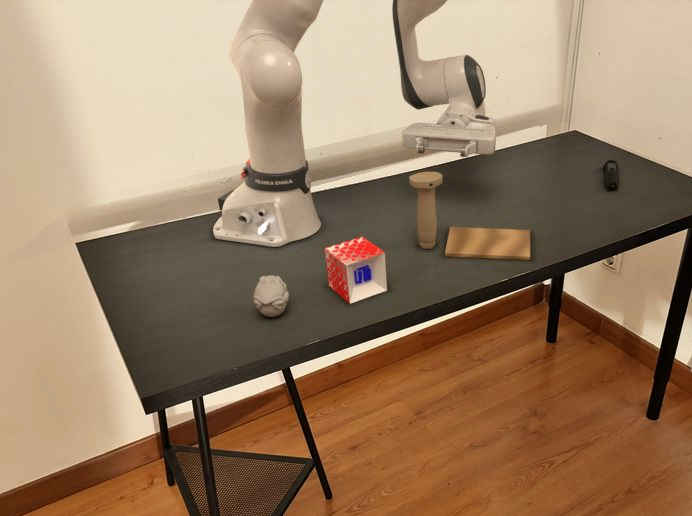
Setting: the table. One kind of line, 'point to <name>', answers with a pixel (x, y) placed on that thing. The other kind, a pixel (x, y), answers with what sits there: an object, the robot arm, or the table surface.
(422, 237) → the handle
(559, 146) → the table surface
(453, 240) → the oak board
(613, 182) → the electric trimmer
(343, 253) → the red and white cube
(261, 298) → the frog figurine
